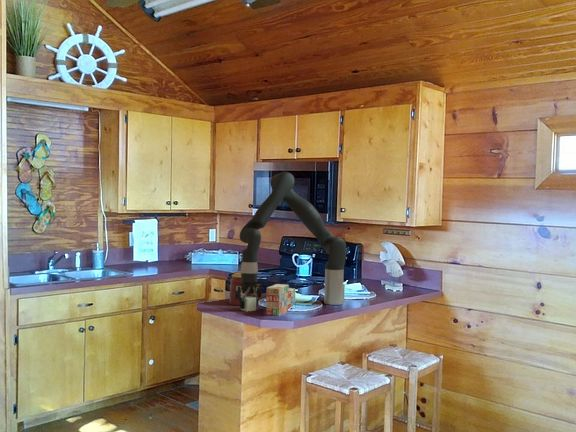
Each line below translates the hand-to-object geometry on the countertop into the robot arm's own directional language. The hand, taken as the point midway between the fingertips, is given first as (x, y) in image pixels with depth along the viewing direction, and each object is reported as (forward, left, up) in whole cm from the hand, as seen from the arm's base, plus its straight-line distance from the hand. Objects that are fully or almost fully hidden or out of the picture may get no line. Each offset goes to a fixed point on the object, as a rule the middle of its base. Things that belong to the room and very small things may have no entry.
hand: (248, 307), depth 254 cm
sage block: (0, 0, -1) cm, 1 cm away
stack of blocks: (-12, +9, -2) cm, 15 cm away
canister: (-6, -13, -2) cm, 14 cm away
